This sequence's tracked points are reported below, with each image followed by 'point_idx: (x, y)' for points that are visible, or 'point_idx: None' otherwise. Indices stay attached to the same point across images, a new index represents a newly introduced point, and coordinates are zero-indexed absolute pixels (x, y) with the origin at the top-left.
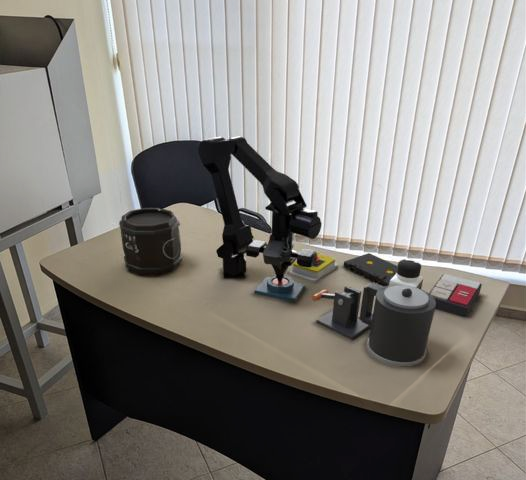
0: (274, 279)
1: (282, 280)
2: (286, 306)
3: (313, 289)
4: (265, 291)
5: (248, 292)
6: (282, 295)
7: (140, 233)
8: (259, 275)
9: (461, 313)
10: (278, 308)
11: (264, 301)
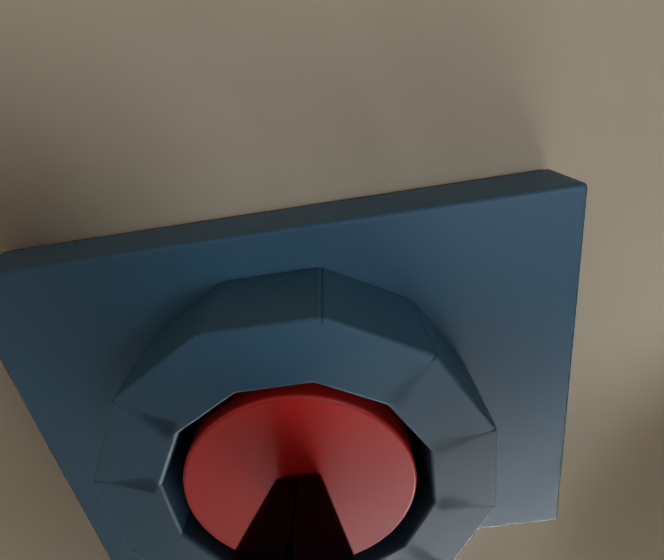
0: (402, 493)
1: None
2: (28, 129)
3: (77, 551)
4: (417, 236)
5: (643, 186)
6: (149, 266)
7: None
8: (630, 525)
9: None
10: (69, 7)
11: (349, 84)
